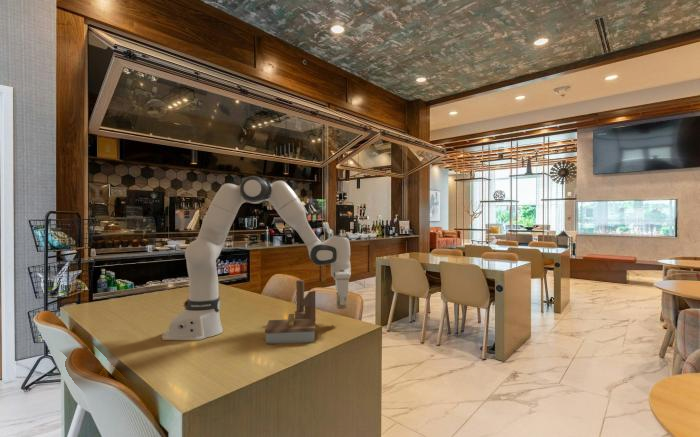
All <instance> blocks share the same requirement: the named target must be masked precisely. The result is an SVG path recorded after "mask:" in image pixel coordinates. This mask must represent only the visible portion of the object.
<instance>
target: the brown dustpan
mask: <svg viewBox="0 0 700 437" xmlns="http://www.w3.org/2000/svg"><path fill="white" fill-rule="evenodd" d="M295 286H296V287H295V288H296V290H295V291H296V298H295V299H296V302H295V303H296V304H295V305H296V311H294V319H312V318H315V322H317V321H316V315H317V314H316V290H312V291H309V292H308V293H307V294H306V296H305V280H303V279H298V280H296V284H295Z"/></svg>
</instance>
